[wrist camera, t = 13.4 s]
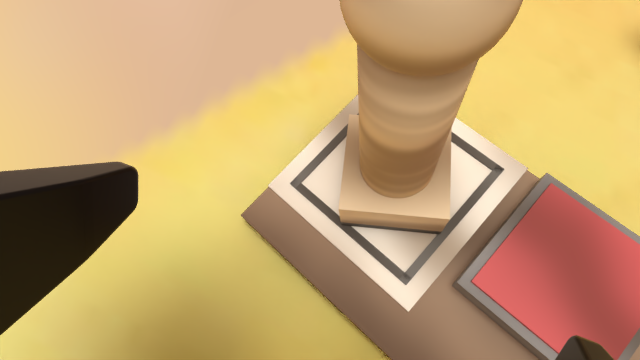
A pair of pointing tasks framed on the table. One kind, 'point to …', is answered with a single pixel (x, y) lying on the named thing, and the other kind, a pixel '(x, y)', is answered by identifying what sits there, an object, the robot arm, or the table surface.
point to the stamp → (411, 105)
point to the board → (462, 258)
